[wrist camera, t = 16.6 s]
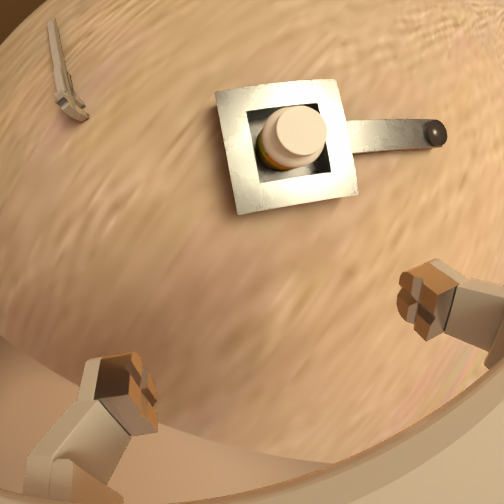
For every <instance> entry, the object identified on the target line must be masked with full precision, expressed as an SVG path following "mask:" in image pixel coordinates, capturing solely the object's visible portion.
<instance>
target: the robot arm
mask: <svg viewBox="0 0 504 504" xmlns="http://www.w3.org/2000/svg"><path fill="white" fill-rule="evenodd" d="M399 285H400V286H401V290H400V292H399V293H398V295H397V308H398V312H399V313H400V315H401V317H402V318H403V319H404V320H405V321H406V322H409V323H413V324H414V330H415V331H416V332H417V333H418V334H419V335H420V336H421V337H422V338H423V339H424V340H425V341H428V340H430V339H432V338H434V337H435V336H437V335H439V334H441V333H443V332H444V333H445V334H448V335H450V336H452V337H455V338H457V339H460V340H462V341H464V342H467V343H469V344H471V345H474V346H476V347H479V348H481V349H483V350H486V351H488V352H489V353H488V355H487V357H486V359H485V361H484V365H485V366H486V367H487V368H488V369H489V371H487V372H486V373H485V374H484V375H483V376H481V377H480V378H479V379H478V380H476V381H475V382H474V383H473V384H471V385H470V386H469V387H468V388H466V389H465V390H464V391H462V392H461V393H460V394H458V395H457V396H455V397H454V398H453V399H451V400H450V401H448V402H447V403H446V404H444V405H443V406H441V407H440V408H438V409H437V410H435V411H434V412H432V413H431V414H429V415H428V416H426V417H424V418H423V419H421V420H420V421H418V422H416V423H415V424H413V425H411V426H410V427H408V428H406V429H404V430H403V431H401V432H399V433H397V434H395V435H394V436H392V437H390V438H388V439H386V440H384V441H382V442H380V443H378V444H376V445H374V446H372V447H370V448H368V449H366V450H364V451H362V452H360V453H358V454H355V455H353V456H351V457H349V458H346V459H344V460H342V461H339V462H337V463H335V464H332V465H330V466H327V467H324V468H322V469H319V470H317V471H314V472H311V473H308V474H306V475H302V476H300V477H296V478H293V479H290V480H287V481H284V482H281V483H277V484H273V485H270V486H266V487H262V488H259V489H255V490H250V491H246V492H242V493H237V494H233V495H227V496H222V497H216V498H211V499H204V500H197V501H189V502H180V503H170V504H504V285H500V284H495V283H491V282H487V281H482V280H478V279H473V278H471V279H468V278H466V277H465V276H463V275H462V274H461V273H459V272H458V271H456V270H455V269H453V268H452V267H450V266H449V265H447V264H446V263H444V262H443V261H441V260H440V259H433V260H431V261H428V262H426V263H424V264H422V265H420V266H417V267H415V268H412V269H410V270H407V271H405V272H402V274H401V276H400V279H399ZM156 401H157V396H156V389H155V385H154V382H153V379H152V377H151V375H150V373H149V372H148V371H147V370H145V369H144V368H142V359H141V358H140V356H139V355H138V353H137V352H135V351H131V352H125V353H120V354H114V355H108V356H103V357H97V358H90V359H88V360H87V361H86V363H85V367H84V371H83V375H82V380H81V384H80V389H79V394H78V399H77V402H72V404H71V405H70V406H69V407H68V408H67V409H66V411H65V412H64V413H63V414H62V415H61V417H60V418H59V419H58V420H57V421H56V422H55V424H54V425H53V426H52V427H51V428H50V429H49V431H48V432H47V433H46V434H45V435H44V437H43V438H42V439H41V440H40V441H39V443H38V444H37V445H36V446H35V447H34V449H33V450H32V451H31V452H30V454H29V455H28V459H27V465H26V471H25V478H24V485H23V493H22V494H19V493H15V492H11V491H7V490H4V489H0V504H124V502H123V497H122V496H121V495H120V494H119V493H118V492H116V491H114V490H113V489H111V488H110V487H108V486H107V483H108V481H109V480H110V478H111V476H112V474H113V472H114V470H115V468H116V466H117V464H118V462H119V460H120V458H121V457H122V455H123V453H124V451H125V449H126V447H127V445H128V443H129V442H130V440H131V437H130V436H137V435H144V434H150V433H156V432H158V422H157V412H156V411H155V410H154V408H153V406H154V404H155V403H156Z"/></svg>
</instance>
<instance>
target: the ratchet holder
mask: <svg viewBox="0 0 504 504" xmlns="http://www.w3.org/2000/svg"><path fill="white" fill-rule="evenodd" d="M215 97H216V103H217V109H218V114H219V120H220V125H221V130H222V136H223V141H224V146H225V152H226V157H227V162H228V168H229V173H230V178H231V183H232V189H233V194H234V199H235V204H236V210H237V214H238V215H242V214H247V213H252V212H257V211H263V210H268V209H274V208H279V207H285V206H290V205H296V204H302V203H308V202H313V201H319V200H325V199H332V198H338V197H344V196H350V195H357V194H359V192H358V185H357V179H356V173H355V167H354V161H353V155H352V154H361V153H372V152H383V151H397V150H413V149H432V148H439V147H442V145H443V144H445V142H446V140H447V132H446V129H445V127H444V125H443V124H442V123H441V122H440V121H438V120H430V119H383V120H358V121H346V120H345V116H344V111H343V107H342V103H341V99H340V95H339V91H338V87H337V83H336V79H324V80H305V81H292V82H281V83H272V84H263V85H255V86H248V87H241V88H235V89H229V90H223V91H218V92H215ZM293 106H307V107H310V108H312V109H314V110H316V111H317V112H318V113H319V114H320V115H321V116H322V117H323V119H324V121H325V123H326V126H327V139H326V141H325V144H324V147H323V150H322V152H321V154H320V155H319V157H318V158H317V159H316V160H315V161H313V162H312V163H310V164H308V165H306V166H303V167H299V168H296V169H292V170H289V171H275V170H272V169H270V168H268V167H267V166H265V165H264V164H263V163H262V161H261V160H260V159H259V157H258V154H257V151H256V141H257V137H258V135H259V133H260V131H261V129H262V128H263V126H264V124H265V122H266V121H267V119H268V118H269V117H270V116H271V115H272V114H273V113H274V112H275V111H277V110H279V109H281V108H284V107H293Z"/></svg>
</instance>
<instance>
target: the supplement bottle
mask: <svg viewBox="0 0 504 504" xmlns="http://www.w3.org/2000/svg"><path fill="white" fill-rule="evenodd" d="M326 139H327V126H326V123H325V121H324V119H323V117H322V116H321V115H320V114H319V113H318V112H317V111H316V110H314V109H312V108H310V107H307V106H293V107H284V108H281V109H279V110H277V111H275V112H274V113H273V114H272V115H271V116H270V117H269V118H268V119H267V121H266V122H265V124H264V126H263V128H262V129H261V131H260V133H259V135H258V137H257V141H256V151H257V154H258V157H259V159H260V160H261V161H262V163H263V164H264V165H265V166H267V167H268V168H270V169H272V170H275V171H289V170H292V169H296V168H299V167H303V166H306V165H308V164H310V163H312V162H313V161H315V160H316V159H317V158H318V157H319V155H320V154H321V152H322V150H323V147H324V144H325V141H326Z"/></svg>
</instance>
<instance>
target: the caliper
mask: <svg viewBox="0 0 504 504" xmlns="http://www.w3.org/2000/svg"><path fill="white" fill-rule="evenodd" d="M47 26H48V34H49V41H50V48H51V54H52V60H53V65H54V71H53V73H54V79H55V84H56V89H57V92H56V93H55V94H54V96H55V97H56V99H57V101H56V102H55V103H57V104H58V105H59V106H61V109H62V111H64V112H65V113H66V114H68V115H69V116H70V117H72V118H74V119H76V120H79V121H81V122H83V121H84V120H86V119H87V118H89V114H87V113H86V112H85V111H83V110H82V109H83V108H85V107H86V106H85V104H84V103H83V101H82V100H81V99H80V98H79V97H78V96H77V95H76V94H75V93H74V92H73V89H72V81H71V76H70V74H68V73H67V70H66V66H65V61H64V57H63V52H62V47H61V42H60V37H59V31H58V27H57V23H56V22H55V17H54V18H52V19H51V20H50V21H48V23H47Z"/></svg>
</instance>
